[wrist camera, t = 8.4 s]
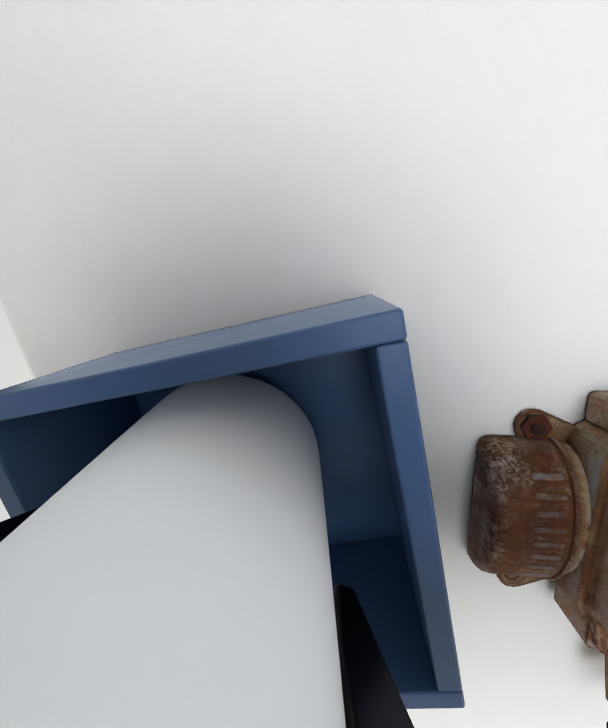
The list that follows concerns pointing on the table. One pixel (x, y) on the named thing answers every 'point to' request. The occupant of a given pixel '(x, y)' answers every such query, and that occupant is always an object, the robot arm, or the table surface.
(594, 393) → the telephone
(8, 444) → the bin
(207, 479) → the can
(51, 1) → the table surface
